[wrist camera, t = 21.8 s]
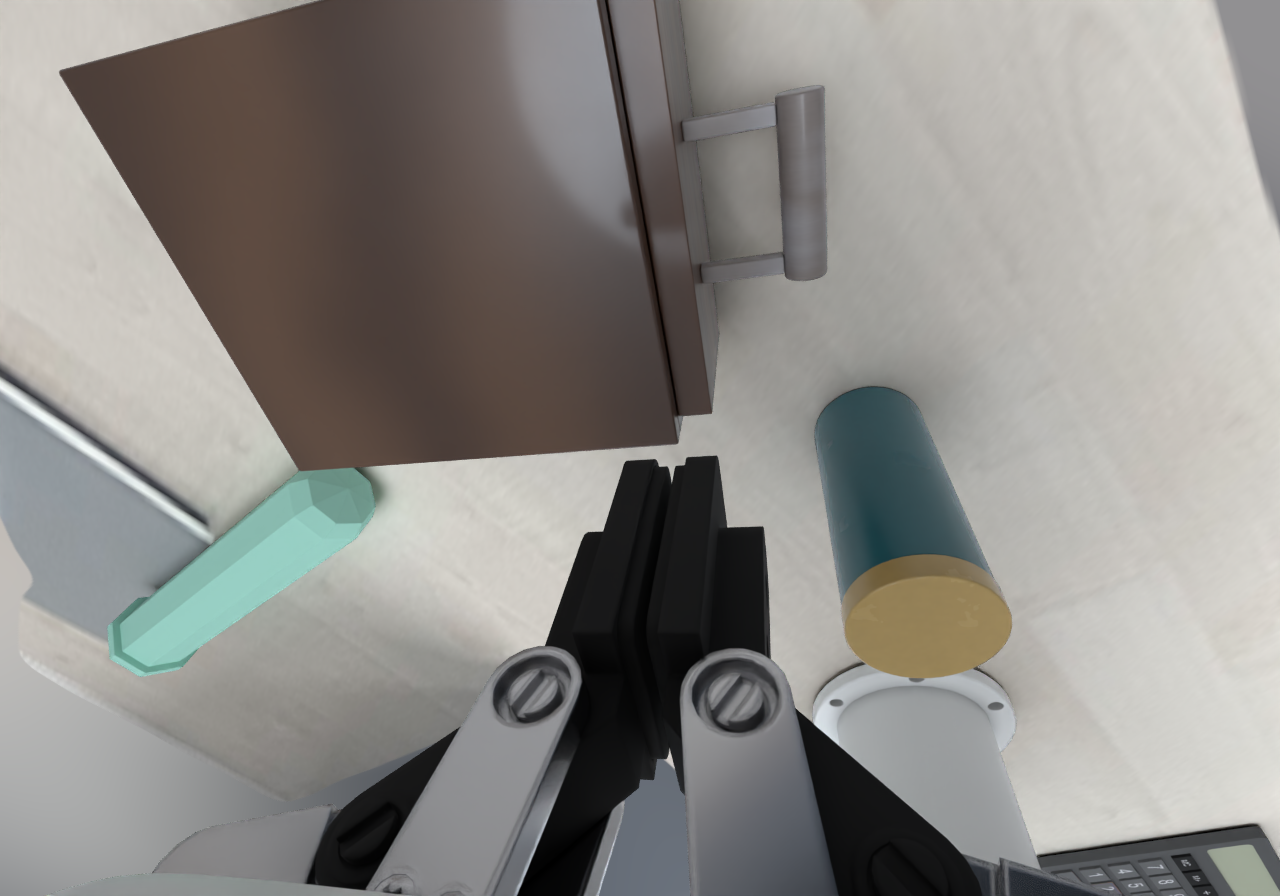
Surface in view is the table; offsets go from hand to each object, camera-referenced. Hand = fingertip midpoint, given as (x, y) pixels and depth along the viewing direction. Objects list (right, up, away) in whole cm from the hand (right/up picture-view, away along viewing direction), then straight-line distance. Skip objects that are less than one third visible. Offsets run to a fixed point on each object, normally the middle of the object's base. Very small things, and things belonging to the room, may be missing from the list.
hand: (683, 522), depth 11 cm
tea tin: (+10, +2, +18) cm, 21 cm away
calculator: (+41, -32, +37) cm, 64 cm away
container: (-26, -5, +30) cm, 40 cm away
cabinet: (-7, +12, +15) cm, 20 cm away
